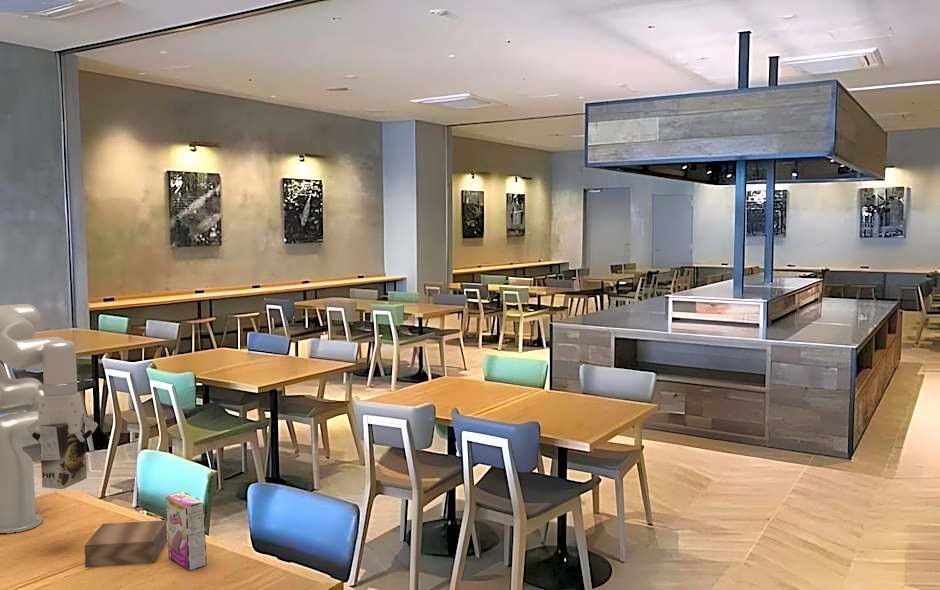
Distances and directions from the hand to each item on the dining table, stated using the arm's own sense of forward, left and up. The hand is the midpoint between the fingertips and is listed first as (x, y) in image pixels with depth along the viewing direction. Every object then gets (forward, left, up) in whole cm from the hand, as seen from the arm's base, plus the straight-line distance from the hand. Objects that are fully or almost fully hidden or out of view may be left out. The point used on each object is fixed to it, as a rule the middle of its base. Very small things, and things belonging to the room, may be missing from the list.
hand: (64, 456), depth 197 cm
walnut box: (+16, -5, -25) cm, 30 cm away
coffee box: (0, 0, -7) cm, 7 cm away
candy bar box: (+32, -13, -25) cm, 43 cm away
